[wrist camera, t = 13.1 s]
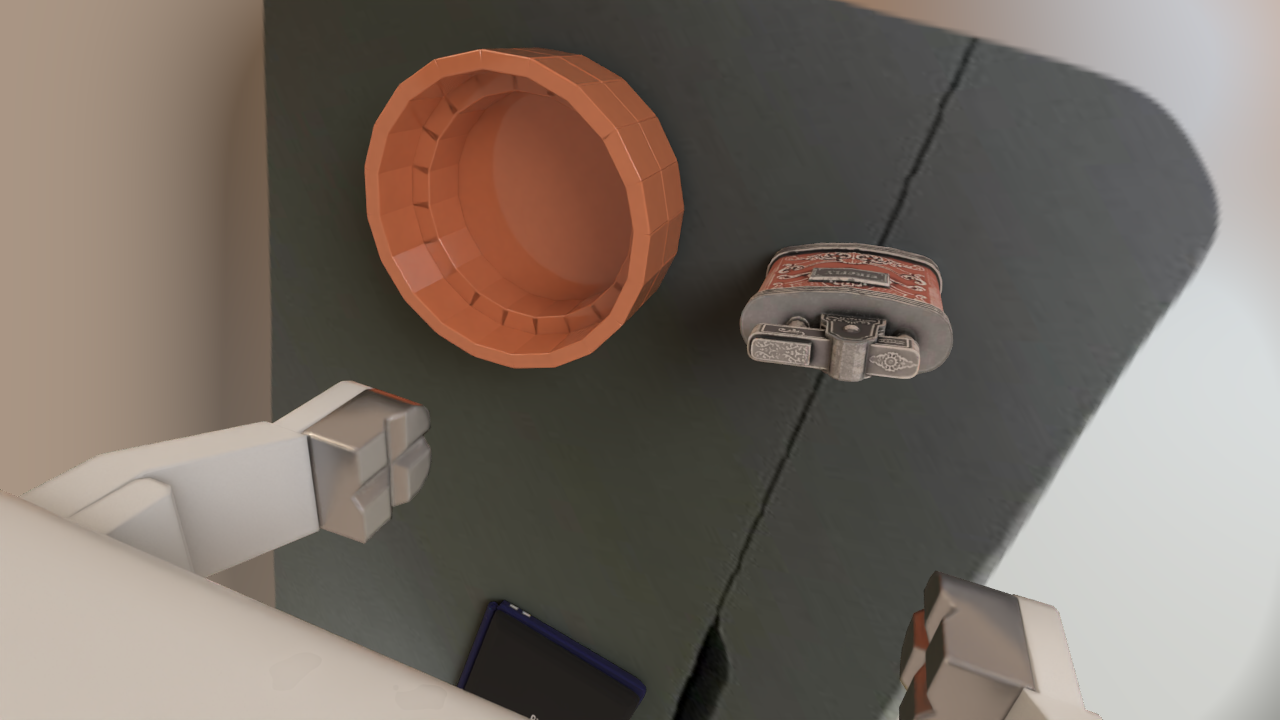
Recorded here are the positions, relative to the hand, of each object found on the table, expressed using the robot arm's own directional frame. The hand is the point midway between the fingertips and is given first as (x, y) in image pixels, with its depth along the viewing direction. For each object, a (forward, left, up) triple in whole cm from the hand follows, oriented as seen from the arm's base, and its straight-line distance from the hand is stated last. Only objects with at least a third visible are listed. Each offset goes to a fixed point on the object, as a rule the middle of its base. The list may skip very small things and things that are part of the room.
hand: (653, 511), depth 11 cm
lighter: (-3, +3, -25) cm, 26 cm away
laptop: (+11, +44, -25) cm, 52 cm away
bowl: (+13, +3, -25) cm, 29 cm away
